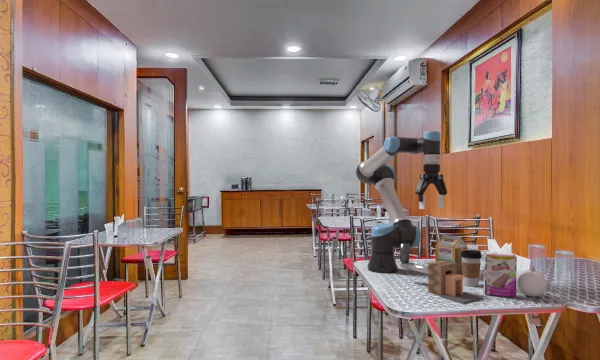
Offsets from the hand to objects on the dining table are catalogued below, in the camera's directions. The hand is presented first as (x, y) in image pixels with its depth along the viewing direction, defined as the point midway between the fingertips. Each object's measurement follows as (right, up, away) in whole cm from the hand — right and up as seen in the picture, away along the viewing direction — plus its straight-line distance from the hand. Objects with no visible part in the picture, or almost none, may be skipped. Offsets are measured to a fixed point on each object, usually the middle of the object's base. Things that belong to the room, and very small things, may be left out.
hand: (431, 208), depth 173 cm
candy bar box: (+17, -33, -27) cm, 46 cm away
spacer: (-2, -28, -29) cm, 40 cm away
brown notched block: (-4, -32, -24) cm, 41 cm away
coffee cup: (+13, -33, -12) cm, 37 cm away
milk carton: (+12, -33, +7) cm, 36 cm away
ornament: (+30, -33, -28) cm, 52 cm away
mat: (0, -32, -32) cm, 45 cm away
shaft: (-10, -26, -14) cm, 32 cm away
